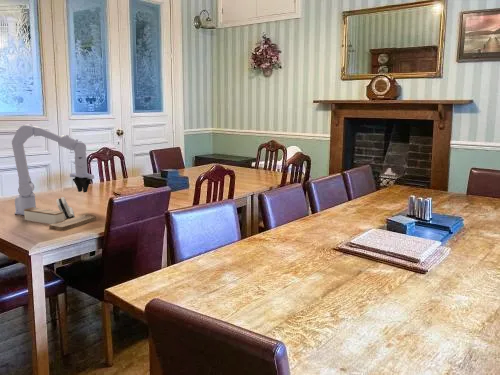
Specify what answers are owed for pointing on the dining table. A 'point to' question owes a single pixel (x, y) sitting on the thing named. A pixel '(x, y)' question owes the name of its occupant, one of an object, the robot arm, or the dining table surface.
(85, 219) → the door leaf
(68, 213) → the hinge
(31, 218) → the cabinet
